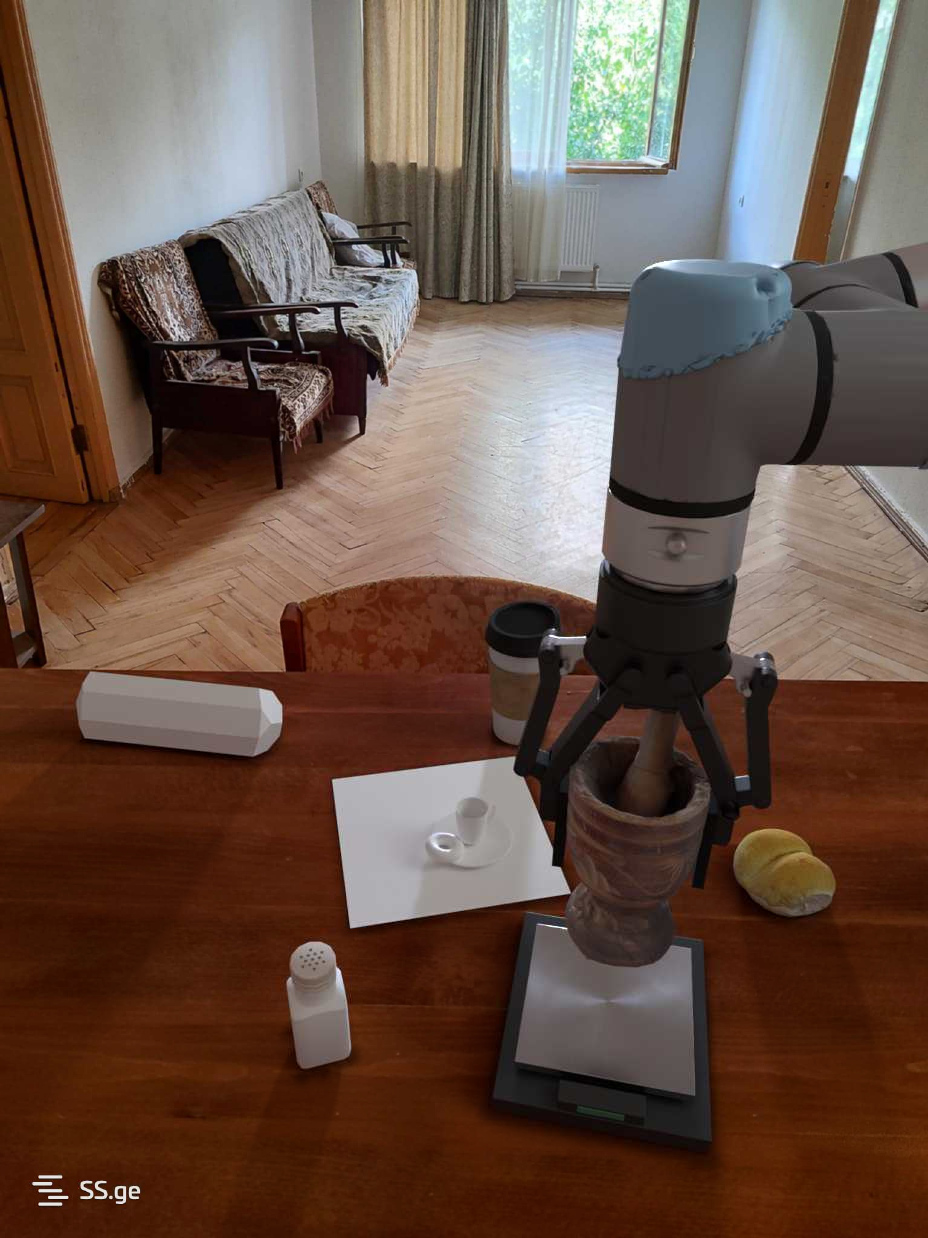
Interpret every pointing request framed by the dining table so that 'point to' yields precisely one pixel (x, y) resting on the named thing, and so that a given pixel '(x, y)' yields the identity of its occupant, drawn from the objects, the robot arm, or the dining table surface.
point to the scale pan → (608, 1019)
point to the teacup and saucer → (441, 842)
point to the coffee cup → (516, 662)
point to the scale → (595, 1101)
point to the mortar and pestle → (632, 841)
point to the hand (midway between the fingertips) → (627, 862)
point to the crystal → (178, 714)
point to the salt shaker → (318, 1006)
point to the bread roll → (783, 873)
